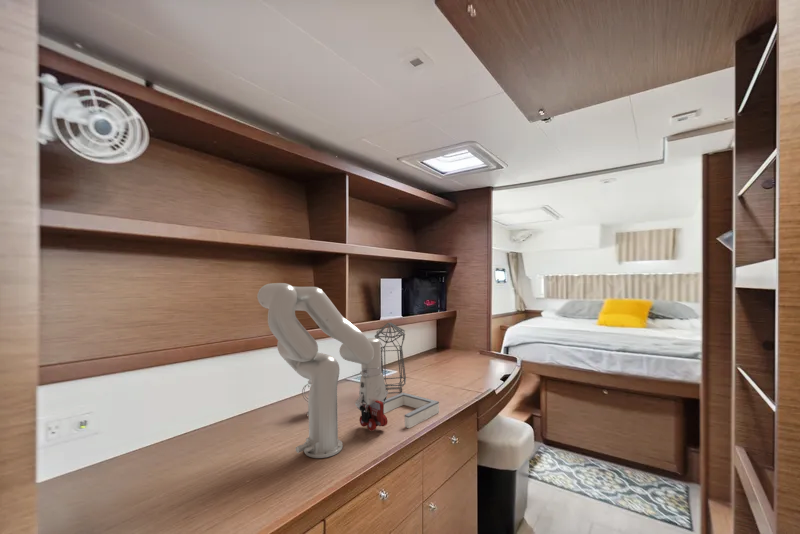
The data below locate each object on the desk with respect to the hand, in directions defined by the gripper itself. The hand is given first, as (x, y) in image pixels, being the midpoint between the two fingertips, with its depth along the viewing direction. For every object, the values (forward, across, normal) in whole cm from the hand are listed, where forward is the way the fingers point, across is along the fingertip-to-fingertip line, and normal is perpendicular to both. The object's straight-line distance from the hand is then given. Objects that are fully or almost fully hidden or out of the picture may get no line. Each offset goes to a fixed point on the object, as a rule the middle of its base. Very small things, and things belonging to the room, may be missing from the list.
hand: (372, 418), depth 131 cm
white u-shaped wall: (+5, +19, 0) cm, 19 cm away
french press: (+4, -3, +32) cm, 32 cm away
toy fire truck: (+3, 0, 0) cm, 3 cm away
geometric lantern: (+5, +39, +26) cm, 47 cm away
